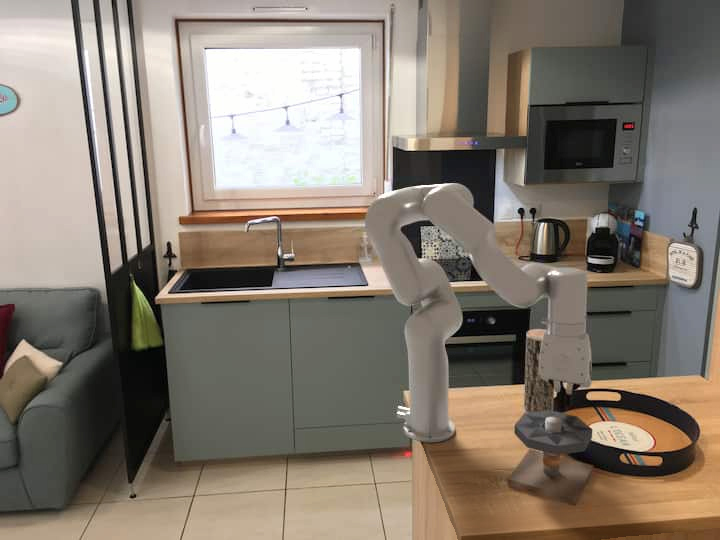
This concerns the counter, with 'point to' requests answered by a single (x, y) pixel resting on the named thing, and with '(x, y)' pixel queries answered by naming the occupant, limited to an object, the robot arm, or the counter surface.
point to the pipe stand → (551, 472)
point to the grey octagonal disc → (564, 442)
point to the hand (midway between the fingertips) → (564, 407)
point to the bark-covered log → (536, 376)
